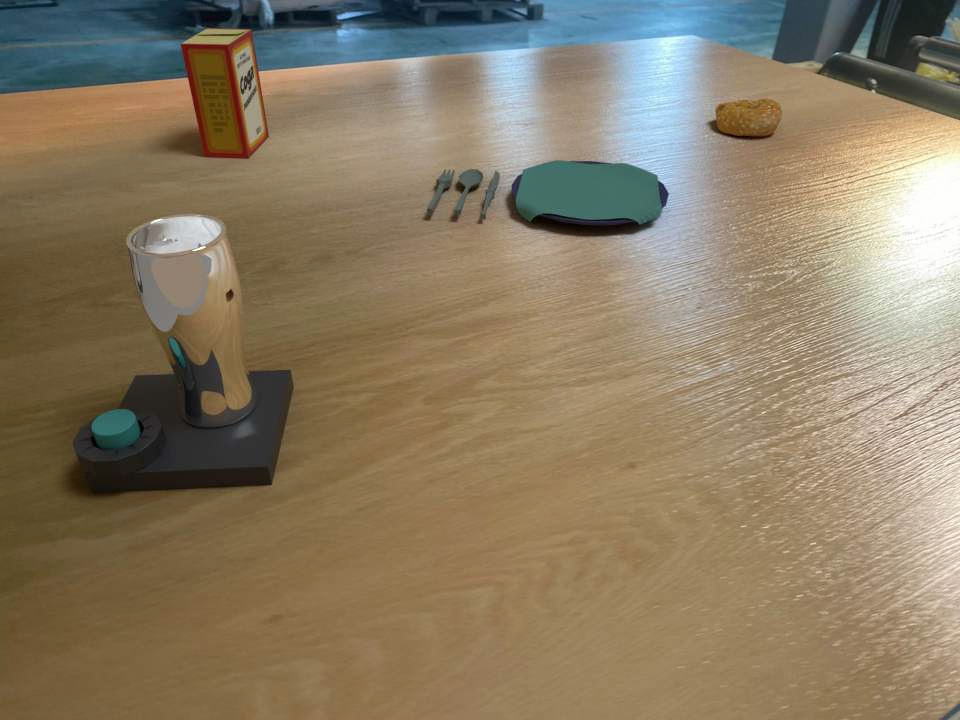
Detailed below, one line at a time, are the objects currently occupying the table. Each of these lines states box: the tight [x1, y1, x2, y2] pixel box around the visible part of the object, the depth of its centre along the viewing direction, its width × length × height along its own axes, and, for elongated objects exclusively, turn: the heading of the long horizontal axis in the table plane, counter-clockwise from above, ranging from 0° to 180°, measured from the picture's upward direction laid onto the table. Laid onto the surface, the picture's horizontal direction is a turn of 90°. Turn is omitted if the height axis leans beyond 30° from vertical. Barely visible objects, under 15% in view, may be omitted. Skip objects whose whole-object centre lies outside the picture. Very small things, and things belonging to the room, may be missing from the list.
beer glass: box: [125, 213, 258, 428], centre depth 57 cm, size 7×7×15 cm
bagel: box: [714, 98, 783, 137], centre depth 120 cm, size 10×11×5 cm
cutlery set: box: [426, 159, 670, 226], centre depth 98 cm, size 20×30×2 cm, turn 82°
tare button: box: [91, 408, 141, 450], centre depth 55 cm, size 3×3×2 cm
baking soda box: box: [180, 27, 270, 159], centre depth 110 cm, size 10×6×16 cm
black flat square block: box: [72, 369, 295, 494], centre depth 59 cm, size 14×12×4 cm
